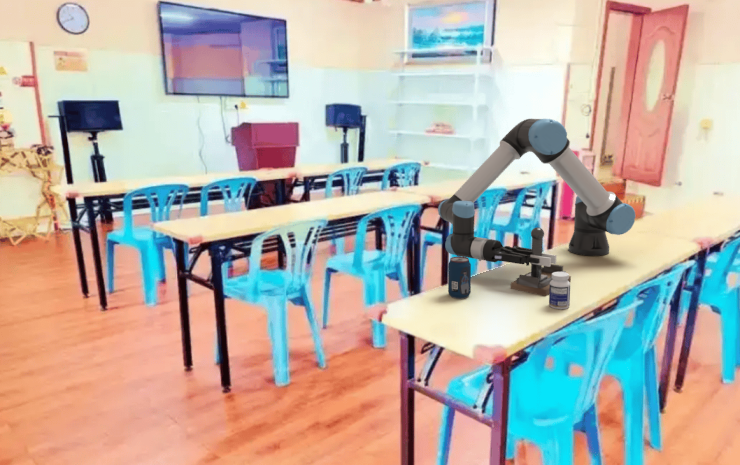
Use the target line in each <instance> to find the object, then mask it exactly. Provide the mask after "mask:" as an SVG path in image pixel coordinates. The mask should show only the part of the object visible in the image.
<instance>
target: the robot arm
mask: <svg viewBox="0 0 740 465" xmlns="http://www.w3.org/2000/svg"><path fill="white" fill-rule="evenodd" d="M567 136H568V132H567V130H566V128H565V126H564V125H563V124H562V123H561V122H559V121H558V120H555V119H551V118H526V119H523V120H522V121H520V122H519V123H517V124H516V125H514V127H513V128H511V130H509V131H508V133H507V134H506V135H504V137H503V138H502V139H500V141H499V146H498V147H497V148H496V149H495V150H494V152H492V153H491V154H490V156H489V157H488V158H486V160H485V161H484V162H483V163H481V165H480V166H479V167H478V168H477V169H476V170H475V172H474V173H472V174H471V176H469V178H468V179H467V180H466V181H465V182H464V183H462V185H461V186H460V188H458V189H457V190H456V191H455V193H454V194H453V195H451V197H450V198H449V199H445V200H443V201H441V202H440V203H439V205H438V207H437V213H438V215H439V217H440V218H441V219H442V220H444V221H446V222H448V223H450V224H452V233H450V234H448V236H447V237H446V239H445V240H446V241H445V243H444V244H445V250H446V252H447V253H448V254H450V255H453V256H456V257H466V258H468V259H475V260H478V261H479V262H481V261H486V262H490V263H498V262H505V263H510V264H512V263H513V264H516V265H517V264H518V265H526V266H527V267H528V266H530V265H531V264H536V265H542V267H544V266H547V267H550V266H551V264H554V265H557V254H556V255H555V254H551V253H545V252H542V256H536V255H532V248H527V247H522V246H518V245H513V246H512V247H511V246H510V245H504V246H503V244H502V242H501V241H499V239H490V238H485V237H478V236H475V216H476V215H475V214H476V211H475V210H476V209H475V202H476V201H477V200H478V199H479V198H480V197H481V196H482V195H483V194H484V192H486V191H487V189H488V188H489V187H490V186H491V185H492V184H493V183H494V182H495V181H497V179H498V178H499V177H500V176H501V175H502V173H504V171H505V170H506V169H507V168H509V167H510V165H512V163H513V162H514V161H515V160H519V159H521V158H522V157H523V156H524V155H525V154H528V153H529V152H531V153H532V154H534V155H535V156H536V157H537V159H539V161H540V162H541V163H542V164H547V165H548V164H549V165H550V166H551V168H552V169H553V170H554V172H556V173H557V174H558V176H559V177H560V178H561V179H562V180H563V181H564V182H565V183H566V184H567V186H569V188H570V189H571V190H572V192H574V194H575V195H576V197H575V202H574V223H573V224H574V225H573V228H574V229H573V233H572V236H571V238H570V241H569V243H568V251H569V252H570V253H573V254H575V255H579V256H580V255H581V256H588V257H589V256H590V257H591V256H593V257H595V256H597V257H599V256H605V255H608V254H609V253H610V243H609V240H608V237H607V233H609V234H610V235H617V236H620V235H621V236H622V235H624V234H626V233H628V232H629V231H630V230H631V229H632V228H633V226H634V224H635V222H636V210H635V209H634V207H633V206H632V205H630V204H628V203H625V202H623V201H622V200H621V199H620V198H619V197H618V195H617V194H615V192H613V191H607V189H605V188H604V186H603V184H601V182H600V181H598V179H597V178H596V177H595V175H593V173H592V172H591V171H590V169H588V168H587V167H586V165H585V164H584V163H583V162H582V161H581V159H580V158H579V157H578V156H577V154H576V153H574V151H573V150H572V149H571V148H570V144H571V141H570V139H569V138H568V137H567Z"/></svg>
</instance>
